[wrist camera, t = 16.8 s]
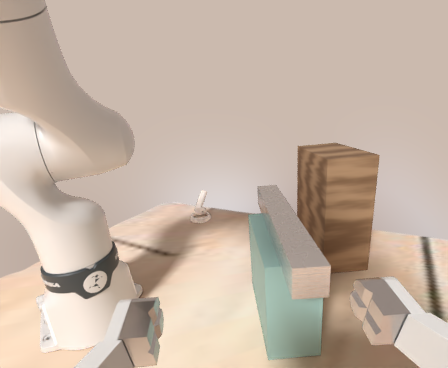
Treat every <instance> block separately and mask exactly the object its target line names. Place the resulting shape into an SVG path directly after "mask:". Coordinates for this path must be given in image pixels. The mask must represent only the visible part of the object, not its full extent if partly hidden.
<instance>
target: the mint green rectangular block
mask: <svg viewBox="0 0 448 368" xmlns="http://www.w3.org/2000/svg"><path fill="white" fill-rule="evenodd" d="M248 217H249V234H250V250H251V267H252V283H253V288H254V293H255V298H256V303H257V308H258V312H259V317H260V322H261V327H262V332H263V337H264V341H265V346H266V351H267V356H268V360H274V359H285V358H296V357H307V356H317V355H321V335H322V312H323V298H310V299H295V300H292V298H291V295H290V292H289V289H288V286H287V283H286V281H285V278H284V275H283V272H282V269H281V266H280V264H279V261H278V258H277V255H276V252H275V249H274V247H273V244H272V241H271V238H270V235H269V233H268V230H267V227H266V224H265V221H264V218H263V216H262V213H261V214H250V215H248Z"/></svg>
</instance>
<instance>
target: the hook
mask: <svg viewBox="0 0 448 368" xmlns="http://www.w3.org/2000/svg"><path fill="white" fill-rule="evenodd" d="M206 194H207V192H206V191H204V190H202V191H201V193H200V195H199V198H198V201H197V203H196V206H195V213H193V214H192V215H191V218H190V221H191V222H193V223H203V222H207V221H209V220H210V219H211V215H210V214H209V212H207V211H206V208H204V207H202V205H203V202H204V200H205V197H206ZM200 214H206V215H207V216H205V217H202V218H195V217H194V216H196V215H200Z"/></svg>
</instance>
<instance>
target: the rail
mask: <svg viewBox="0 0 448 368" xmlns="http://www.w3.org/2000/svg"><path fill="white" fill-rule="evenodd" d="M258 204H259V207H260V210H261V213H262V216H263V218H264V221H265V224H266V227H267V230H268V233H269V235H270V238H271V241H272V244H273V247H274V249H275V252H276V255H277V258H278V261H279V264H280V266H281V269H282V272H283V275H284V278H285V281H286V283H287V286H288V289H289V292H290V295H291V298H292V300H295V299H310V298H325V297H329V291H330V273H331V265H330V264H329V262H328V261H327V259H326V258H325V256H324V255H323V254H322V252H321V251H320V249H319V248H318V246H317V245H316V243H315V242H314V240H313V239H312V237H311V236H310V234H309V233H308V231H307V230H306V228H305V227H304V225H303V224H302V222H301V221H300V219H299V218H298V217H297V215H296V214H295V212H294V211H293V209H292V208H291V206H290V205H289V203H288V202H287V200H286V199H285V197H284V196H283V194H282V193H281V191H280V190H279V189H278V187H277V185H270V186H258Z"/></svg>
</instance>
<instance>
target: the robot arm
mask: <svg viewBox="0 0 448 368" xmlns="http://www.w3.org/2000/svg"><path fill="white" fill-rule="evenodd" d="M0 108H2V109H6V110H9V111H12V112H15V113H6V114H0V207H2V208H3V209H5V210H6V211H8V212H9V213H10V214H11V215H13V216H14V217H15V218H16V219H17V220H18V221H19V222H20V223H21V224H22V225H23V227H24V228H25V229H26V231H27V233H28V234H29V237H30V238H31V241H32V242H33V245H34V247H35V249H36V251H37V254H38V256H39V259H40V262H41V264H42V266H41V277H42V280H43V282H44V283H45V286H46V287H45V294H43V295H40V296H38V297H37V298H36V302H37V306H38V308H39V309H40V311H41V329H40V349H41V352H43V353H47V352H52V351H56V350H59V349H67V350H80V349H86V348H89V347H92V346H94V348H93V349H92V350H91V351H90V352H89V353H88V354H87V355H86V356H85V357H84V358H83V359H82V360H81V361H80V362H79V363H78V364H77V365H76V366H75V367H74V368H137V367H145V366H153V365H157V360H158V355H159V349H160V345H159V342H158V339H159V338H160V336H161V335H162V331H163V320H164V319H163V312H162V309H160V308H159V305H160V301H159V298H158V297H154V298H139V297H140V295H141V294H142V292H143V289H142V287H141V285H139V284H136V283H134V282H133V279H132V276H131V273H130V270H129V266H128V264H127V263H125V262H123V261H120V260H119V257H118V251H117V248H116V246H115V243H114V242H113V241H112V240H111V236H110V232H109V228H108V225H107V220H106V217H105V212H104V210H103V209H102V208H101V206H99V205H98V204H97V203H95V202H94V201H91V200H89V199H85V198H81V197H75V196H71V195H67V194H65V193H63V192H62V191H61V190H59V189H58V188H57V186H56V185H55V182H58V181H63V180H69V179H75V178H81V177H87V176H93V175H98V174H102V173H105V172H108V171H111V170H114V169H117V168H119V167H122V166H124V165H127V163H128V162H129V160H130V159H131V157H132V155H133V152H134V136H133V132H132V130H131V128H130V126H129V124H128V123H127V121H126V120H125V119H124V118H123V117H122V116H121V115H120V114H119V113H117V112H115V111H114V110H111V109H109V108H107V107H105V106H103V105H101V104H100V103H98V102H97V101H95V100H94V99H93V98H91V97H90V96H89V95H88V94H87V93H86V92H85V91H84V90H83V89H82V88H81V87H80V86H79V85H78V83H77V82H76V81H75V79H74V78H73V76H72V75H71V73H70V71H69V69H68V67H67V64H66V62H65V60H64V57H63V55H62V52H61V49H60V47H59V44H58V41H57V38H56V35H55V32H54V29H53V26H52V23H51V20H50V16H49V13H48V10H47V6H46V3H45V0H0ZM353 287H354V289H355V290H354V291H353V292H352V293H351V294H350V305H351V308H352V311H353V313H354V315H355V316H356V318H358V319H359V320H360V321H362V322H363V325H362V329H363V331H364V332H365V334H366V336H367V338H368V339H369V341H370V343H371V345H387V344H394V346H395V347H396V348H398V349H399V350H400V351H401V352H402V353H403V354H405V355H406V356H407V357H408V358H409V359H410V360H412V361H413V362H414V363H415V364H416V365H417V366H419V367H420V368H448V323H447V322H445V321H443V320H442V319H440V318H438V317H436V316H435V315H433V314H431V313H426V312H425V311H424V310H423V309H422V308H421V307H420V305H419V304H418V303H417V302H416V301H415V300H414V298H413V297H412V296H411V295H410V294H409V293H408V291H407V290H406V289H405V288H404V287H403V286H402V284H401V283H400V282H399V281H398V280H397V279H396V278H395V277H381V278H379V277H377V278H368V279H358V280H355V281H354V283H353Z"/></svg>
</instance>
